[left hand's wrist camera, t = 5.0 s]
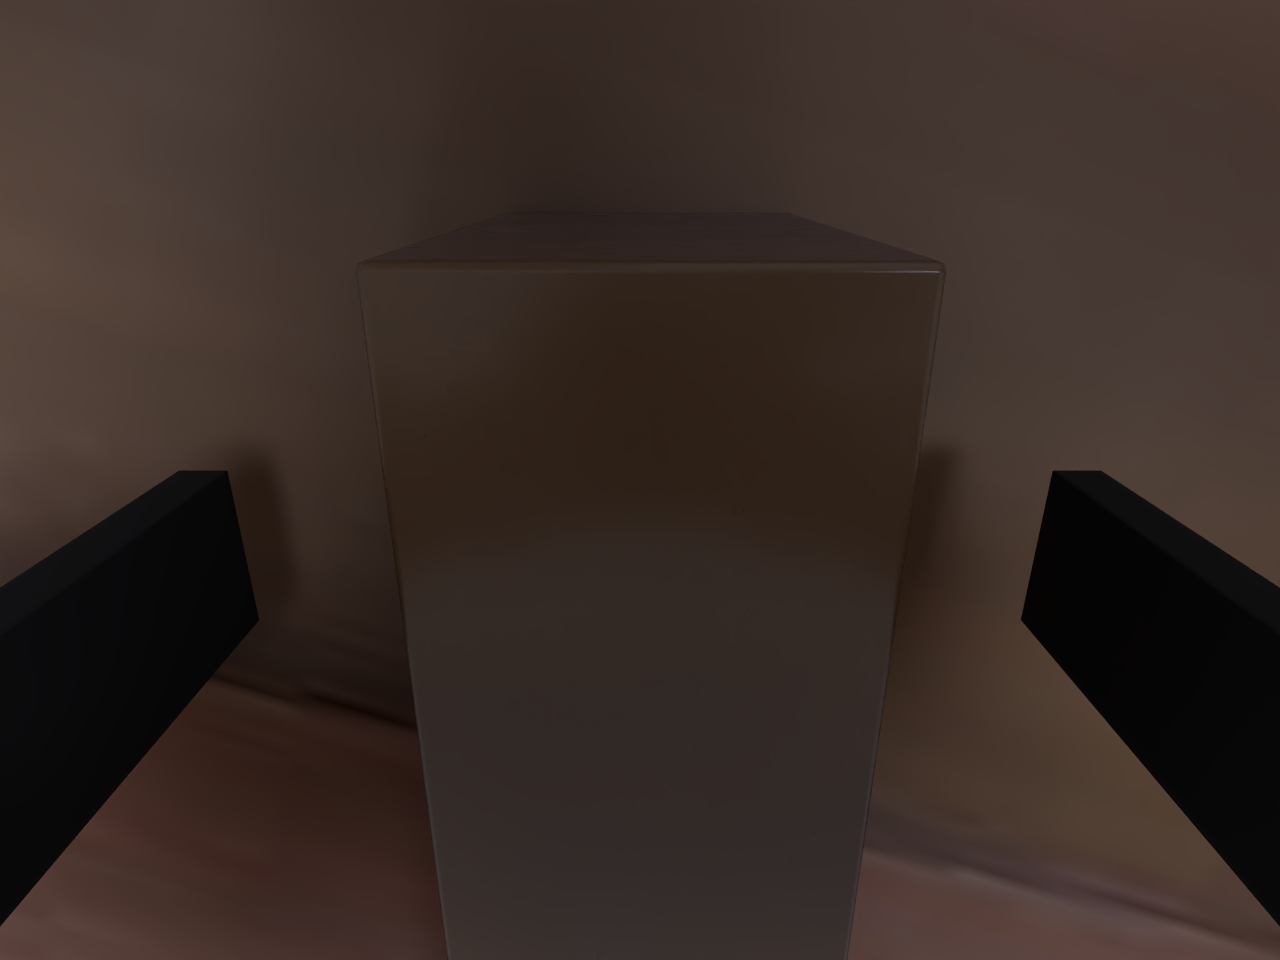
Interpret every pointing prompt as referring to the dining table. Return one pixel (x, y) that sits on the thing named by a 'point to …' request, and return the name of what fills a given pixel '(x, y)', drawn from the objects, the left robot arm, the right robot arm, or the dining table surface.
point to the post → (649, 568)
